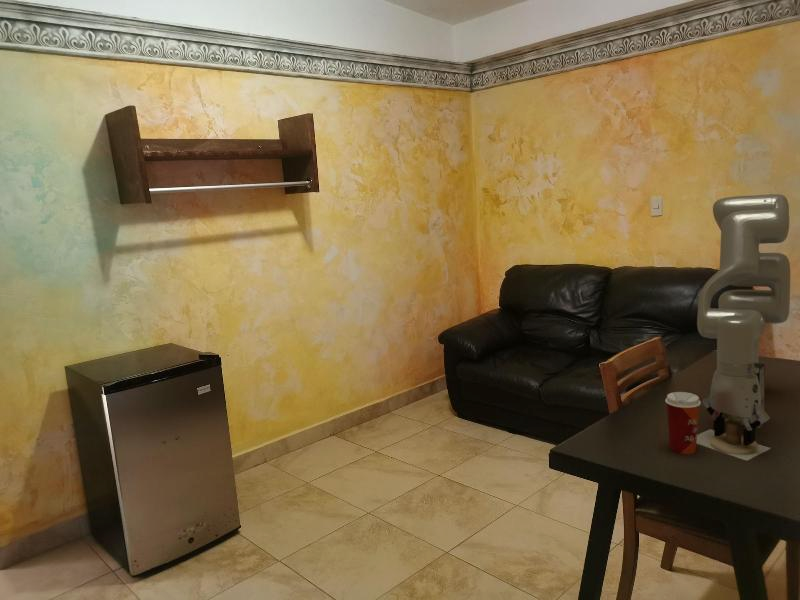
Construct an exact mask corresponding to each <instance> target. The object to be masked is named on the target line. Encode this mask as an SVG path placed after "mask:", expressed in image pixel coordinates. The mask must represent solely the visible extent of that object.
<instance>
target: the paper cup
mask: <svg viewBox="0 0 800 600" xmlns="http://www.w3.org/2000/svg"><path fill="white" fill-rule="evenodd" d="M664 401H665V403H666V411H667V412H666V413H667V425H668V427H667V428H668V439H669V449H670V450H671V452H673V453H676V454H680V455H691V454H694V453H696V451H697V444H696V442H697V435H698V431H699V430H698V428H699V427H698V426H699V414H700V413H699V411H700V406H701V405H702V404H701V403H702V401H701V400H700V397H699V396H698V395H697V394H696V393H695V394H694V393H692V392H685V391H676V392H675V391H674V392H671V393H668V394H667V395H666V398H665V400H664Z"/></svg>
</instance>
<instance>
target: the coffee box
mask: <svg viewBox="0 0 800 600" xmlns="http://www.w3.org/2000/svg"><path fill="white" fill-rule="evenodd" d="M754 367H756V368H759V372H758V374H756V373H754V375H757V377H758V381H759V386H760V393H761V408H762V409H763V410H764V411H765V376H766V373H765V370H766V365H765V363H759V362H758V363H754ZM754 417H755V419H756V420H758V419H759V416H758V415H754ZM722 418H724V419H725V423H726V421H728V420H736V421H740V422H741V423H742V426H745V424H744V422H743V419H742V418H740V417H737V416H733V415H730V414H726V413H724V414H723V416H722ZM762 425H763V424H762ZM762 425H760V426H758V427H757V428H758V429H760V428H761V427H762ZM757 428H756V429H757Z"/></svg>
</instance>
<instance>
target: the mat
mask: <svg viewBox="0 0 800 600" xmlns="http://www.w3.org/2000/svg"><path fill="white" fill-rule="evenodd" d="M712 436H714V429H708V430H704V431H703V432H700V433H699V434H698V433H697V442H696V445H698V446H699V445H700V446H703V447H705V448H709V449H712V450H713V451H716V452H719V453H722V454H726V455H729V456H731V457H734V458H737V459H740V460H743V461H747V462H748V461H750V460H752V459H753V458H755V457H758V456H759V455H761V454H764V453H765V452H767V451H769V450H771V449H772V448H771V447H769V446H765V445H762V444H759V443H757V444H758V450H757V452H755V453H753V454H749V455H733V454H727V453H723V452H720V451H718V450H716V449H714V448H713V447H712V446H711V445H710V438H711V437H712Z"/></svg>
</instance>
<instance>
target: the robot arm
mask: <svg viewBox="0 0 800 600" xmlns="http://www.w3.org/2000/svg"><path fill="white" fill-rule="evenodd" d="M789 206H790V205H789V201H788V199H787V197H786V196H785V195H783V194H779V193H777V194H776V193H774V194H758V195H739V196H728V197H727V196H726V197H723V198H719V199H717V200H716V201H715V202H714V203H713V205H712V214H713V218H714V221H715V223H716V224H717V227H718V228H719V230H720V252H719V269H718V270H717V272H716V273H714V274H713V275H712V276H711V277H710V278H709V279H708V280H707V281H706V282H705V284H704V286H703V287H702V288H701V291H700V293H699V295H698V302H697V303H698V304H697V315H696V316H697V319H696V320H697V321H696V325H697V326H696V327H697V331H698V333H699V335H700V336H701V337H703V338H707V339H716V340H717V341H716V370H714V373H713V376H712V381H711V385H710V392H709V393H710V394H709V395H707V396H706V397H705V398H704V399H702V400H701V403H702V405H703V406H704V407H705V408H706V410H707V412H708V413H709V415H710V417H711V420H712V421H713V430H714V435H715V436H720V435H722V434H726V425H725V423H726V422H725V419H724V418H722V416H723V414H724V413H726V414H730V415H733V416H737V417H740V418H742V419H743V422H744V424H745V425H744V426H745V429H743V435H742V436H743V444H744V445H745V446H748V445H750V444H752V443H753V442H754V441H756V429H757V427H758V426H760V425H763V424H764V423H767V422H768V421H770V416H769V415H768V413H767V412H766V411H765V409H764V410H763V409H762V408H761V393H760V386H759V381H758V377H757V375H754V373H756V374H758V372H759V368H756V367H754V363H759V345H760V343H759V341H760V340H759V338H760V337H761V335H763V334H764V331H765V326H766V325H765V324H783V323H785V322H786V321H787V320H788V318H789V315H790V304H791V262H790V259H789V258H788V257H787V255H786V254H784V253H780V252H760V245H761V244H781V243H784V242H785V240H786V239H787V238H788V235H789V232H790V207H789ZM727 286H734V287H735V286H736V287H752V288H753V287H754V288H755V287H757V288H758V287H760V288H761V287H762V288H763V287H764V288H765V287H767V288H769V289H729V290H726V291H724V292H723V293H722V294H720V296H719V298H718V303H717V304H718V308H714V307H713V308H711V303H712V299H713V297H714V296H715V294H716V293H718V292H719V291H721V290H722V289H723V288H726V287H727ZM754 415H758V416H759V419H758V420H756V419H755V417H754Z"/></svg>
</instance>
